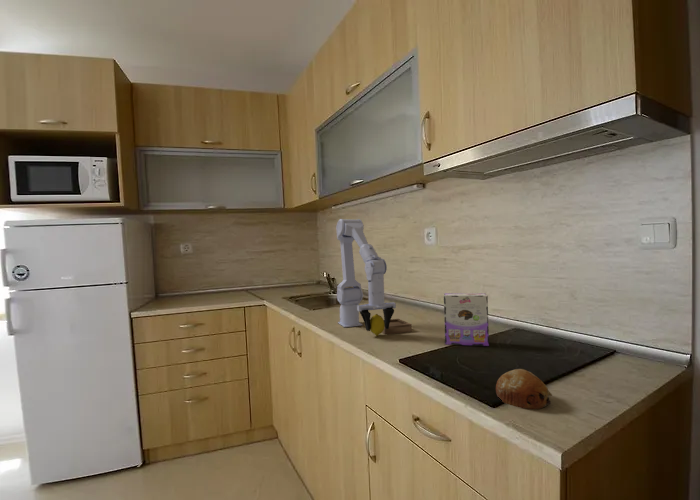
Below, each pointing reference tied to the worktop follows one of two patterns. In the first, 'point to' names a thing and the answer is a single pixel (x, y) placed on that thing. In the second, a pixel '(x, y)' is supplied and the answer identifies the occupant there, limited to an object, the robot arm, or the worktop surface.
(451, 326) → the candy box
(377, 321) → the lemon
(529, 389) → the reddish brown rounded lump
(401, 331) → the base
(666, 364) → the worktop surface
